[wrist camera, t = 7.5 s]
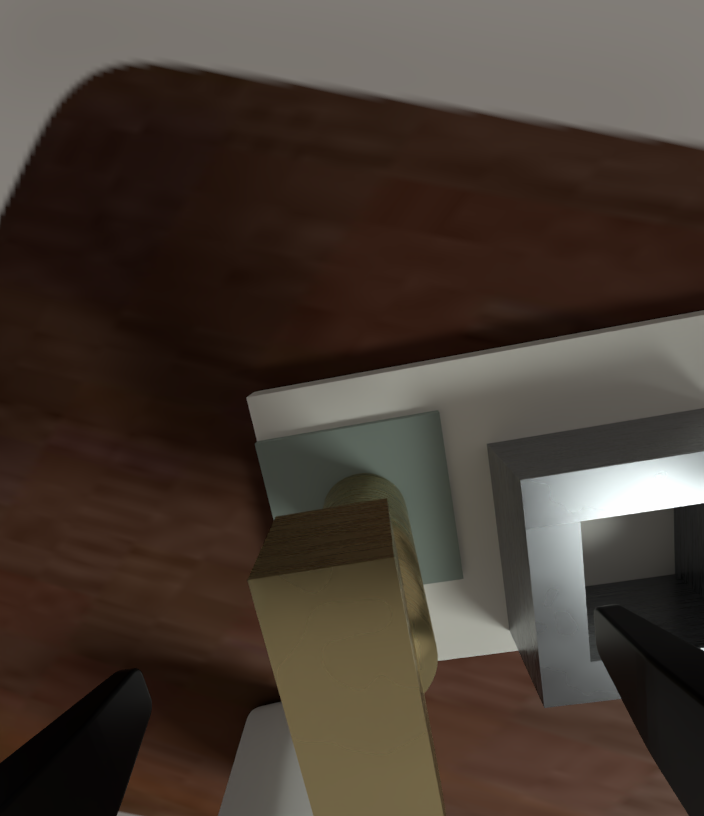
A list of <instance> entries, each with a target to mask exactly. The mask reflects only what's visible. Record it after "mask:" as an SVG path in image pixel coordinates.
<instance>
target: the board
mask: <svg viewBox="0 0 704 816" xmlns="http://www.w3.org/2000/svg"><path fill="white" fill-rule="evenodd" d="M246 399H247V403H248V407H249V411H250V415H251V419H252V423H253V427H254V431H255V435H256V439H257V441H261V440H267V439H273V438H279V437H285V436H290V435H296V434H302V433H308V432H314V431H319V430H325V429H331V428H337V427H343V426H348V425H354V424H360V423H366V422H372V421H377V420H383V419H389V418H395V417H401V416H406V415H412V414H418V413H424V412H430V411H435V410H438V411H439V413H440V420H441V427H442V433H443V440H444V447H445V454H446V461H447V468H448V475H449V482H450V489H451V496H452V502H453V509H454V516H455V523H456V530H457V537H458V544H459V551H460V558H461V564H462V571H463V578H464V579H459V580H452V581H445V582H438V583H431V584H424V585H423V586H424V591H425V595H426V600H427V604H428V609H429V614H430V618H431V623H432V628H433V632H434V637H435V642H436V646H437V653H438V661H440V660H448V659H456V658H464V657H471V656H479V655H487V654H495V653H503V652H510V651H518V649H517V646H516V644H515V642H514V640H513V637H512V635H511V633H510V631H509V623H508V615H507V607H506V598H505V590H504V582H503V574H502V566H501V557H500V549H499V541H498V533H497V524H496V516H495V508H494V500H493V491H492V483H491V475H490V467H489V459H488V450H487V444H489V443H495V442H501V441H507V440H513V439H519V438H525V437H532V436H538V435H544V434H550V433H556V432H562V431H568V430H574V429H580V428H586V427H592V426H598V425H604V424H610V423H616V422H622V421H628V420H635V419H641V418H647V417H653V416H659V415H665V414H671V413H677V412H683V411H689V410H695V409H701V408H704V310H702V311H697V312H691V313H686V314H680V315H675V316H669V317H664V318H658V319H653V320H647V321H642V322H636V323H631V324H625V325H620V326H614V327H609V328H603V329H598V330H592V331H587V332H581V333H576V334H570V335H565V336H559V337H554V338H548V339H542V340H537V341H531V342H526V343H520V344H515V345H509V346H504V347H498V348H493V349H487V350H482V351H476V352H471V353H465V354H460V355H454V356H449V357H443V358H438V359H432V360H427V361H421V362H416V363H410V364H405V365H399V366H394V367H388V368H383V369H377V370H372V371H366V372H361V373H355V374H350V375H344V376H339V377H333V378H328V379H322V380H317V381H311V382H306V383H300V384H295V385H289V386H284V387H278V388H273V389H267V390H262V391H256V392H253V393H252V394H251V395H249V396H248V397H246ZM580 523H581V537H582V551H583V565H584V578H585V586H592V585H599V584H606V583H613V582H621V581H628V580H635V579H643V578H650V577H657V576H664V575H672V574H675V551H674V508H667V509H660V510H654V511H647V512H640V513H634V514H627V515H620V516H613V517H607V518H600V519H593V520H587V521H580Z"/></svg>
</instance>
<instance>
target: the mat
mask: <svg viewBox="0 0 704 816" xmlns="http://www.w3.org/2000/svg"><path fill="white" fill-rule="evenodd" d="M255 447H256V451H257V455H258V459H259V463H260V467H261V471H262V475H263V479H264V483H265V487H266V491H267V495H268V499H269V503H270V507H271V511H272V515H273V519H275V517H276V516H282V515H288V514H294V513H300V512H306V511H312V510H318V509H323V505H324V502H325V499H326V496H327V494H328V493H329V491H330V490H331V488H332V487H333V486H334V485H335V484H336V483H338V482H339V481H340V480H342V479H344V478H346V477H348V476H351V475H355V474H362V473H366V474H374V475H378V476H381V477H383V478H385V479H387V480H389V481H390V482H392V483H393V484H394V485H395V486H396V487H397V488H398V489H399V491H400V492H401V494H402V495H403V497H404V500H405V503H406V507H407V512H408V516H409V521H410V526H411V530H412V535H413V539H414V544H415V549H416V553H417V558H418V563H419V567H420V572H421V577H422V581H423V585H424V584H431V583H438V582H445V581H452V580H459V579H464V578H463V571H462V564H461V558H460V551H459V544H458V537H457V530H456V523H455V516H454V509H453V502H452V496H451V489H450V482H449V475H448V468H447V461H446V454H445V447H444V440H443V433H442V427H441V420H440V413H439V411H438V410H435V411H430V412H424V413H418V414H412V415H406V416H401V417H395V418H389V419H383V420H377V421H372V422H366V423H360V424H354V425H348V426H343V427H337V428H331V429H325V430H319V431H314V432H308V433H302V434H296V435H290V436H285V437H279V438H273V439H267V440H261V441H257V442H256V443H255Z"/></svg>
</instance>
